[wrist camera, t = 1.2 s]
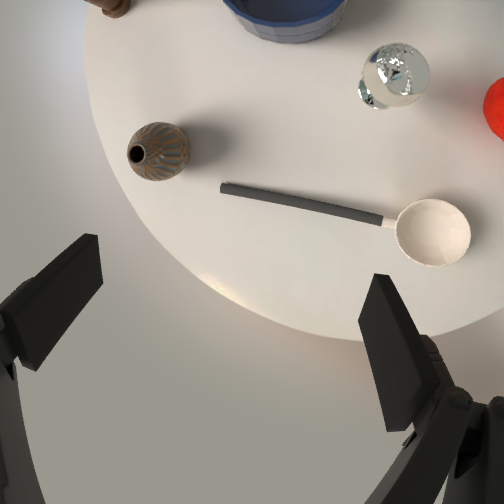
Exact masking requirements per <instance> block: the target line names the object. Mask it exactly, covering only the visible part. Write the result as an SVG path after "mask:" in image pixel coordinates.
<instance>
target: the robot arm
mask: <svg viewBox="0 0 504 504" xmlns="http://www.w3.org/2000/svg"><path fill="white" fill-rule="evenodd" d="M102 284H103V278H102V271H101V263H100V255H99V245H98V235H93V234H86V233H85V234H83V235H82V236H81V237H80V238H79V239H77V240H76V241H75V242H74V243H73V244H71V245H70V246H69V247H68V248H67V249H66V250H64V251H63V252H62V253H61V254H60V255H58V256H57V257H56V258H55V259H54V260H53V261H52V262H51V263H49V264H48V265H47V266H46V267H45V268H44V269H43V270H42V271H40V272H39V273H38V274H37V275H36V276H35V277H32V278H30V279H28V280H26V281H24V282H23V283H22V284H21V285H20V286H18V287H17V288H16V290H14V292H12V293H11V294H10V296H8V297H7V298H6V299H5V300H4V301H3V302H2V303H1V304H0V504H45V501H44V498H43V495H42V492H41V489H40V486H39V482H38V479H37V476H36V472H35V469H34V465H33V461H32V457H31V454H30V449H29V445H28V441H27V436H26V431H25V426H24V421H23V417H22V410H21V404H20V397H19V390H18V381H17V373H16V366H15V363H14V359H15V358H16V357H17V356H18V357H19V360H20V362H21V364H22V366H24V367H26V368H28V369H31V370H33V371H37V370H38V368H39V367H40V366H41V364H42V363H43V361H44V360H45V358H46V357H47V356H48V354H49V353H50V352H51V350H52V349H53V347H54V346H55V345H56V343H57V342H58V341H59V339H60V338H61V336H62V335H63V334H64V333H65V331H66V330H67V328H68V327H69V326H70V325H71V323H72V322H73V321H74V319H75V318H76V317H77V316H78V314H79V313H80V312H81V310H82V309H83V308H84V307H85V305H86V304H87V303H88V301H89V300H90V299H91V298H92V296H93V295H94V294H95V293H96V292H97V290H98V289H99V288H100V287H101V285H102ZM358 323H359V326H360V330H361V333H362V336H363V340H364V343H365V347H366V350H367V354H368V358H369V361H370V365H371V369H372V372H373V376H374V380H375V384H376V388H377V392H378V396H379V400H380V404H381V408H382V412H383V416H384V421H385V426H386V430H387V432H396V431H405V430H406V429H407V428H408V426H409V425H410V424H411V423H412V422H413V425H414V428H415V430H414V431H413V433H412V434H411V435H410V436H409V437H408V438H407V440H406V441H405V442H404V443H403V444H402V445H403V446H404V447H403V448H402V450H401V452H400V453H399V455H398V456H397V458H396V460H395V461H394V463H393V464H392V466H391V467H390V469H389V470H388V472H387V473H386V474H385V476H384V477H383V479H382V480H381V482H380V483H379V485H378V486H377V487H376V489H375V490H374V492H373V493H372V494H371V495H370V497H369V498H368V499H367V501H366V502H365V503H364V504H433V503H434V502H435V499H436V498H437V496H438V494H439V492H440V490H441V488H442V485H443V484H444V482H445V479H446V477H447V475H448V479H447V485H446V490H445V494H444V498H443V502H442V504H504V397H501V396H496V397H494V398H493V399H492V400H491V401H490V403H489V404H488V405H486V404H482V403H477V402H473V399H472V397H471V396H470V394H469V393H468V392H467V391H465V390H464V389H463V388H460V387H455V385H454V382H453V380H452V378H451V376H450V374H449V371H448V369H447V367H446V365H445V363H444V362H443V359H442V357H441V355H440V354H439V351H438V348H437V346H436V344H435V343H434V342H433V341H432V340H431V339H430V338H429V337H428V336H427V335H420V334H419V332H418V330H417V328H416V326H415V324H414V322H413V320H412V318H411V316H410V314H409V312H408V310H407V308H406V306H405V304H404V302H403V300H402V299H401V297H400V295H399V293H398V291H397V289H396V287H395V285H394V284H393V282H392V280H391V278H390V276H389V275H383V274H376V273H374V276H373V279H372V282H371V285H370V288H369V291H368V294H367V297H366V300H365V302H364V305H363V308H362V311H361V314H360V316H359V319H358ZM448 473H449V474H448Z"/></svg>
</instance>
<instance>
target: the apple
mask: <svg viewBox="0 0 504 504" xmlns="http://www.w3.org/2000/svg"><path fill="white" fill-rule="evenodd" d="M483 112H484V115H485V118H486V120H487V123H488V125H489V127H490V128H491V130H492V132H494V133H495V134H496V135H497V136H498V137H500V138H501V139H502V140H503V141H504V78H501V79H499V80H497V81H496V82H495V83H494V84H493V85H491V86H490V88H489V90H488V92H487V94H486V96H485V100H484V104H483Z"/></svg>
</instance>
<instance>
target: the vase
mask: <svg viewBox="0 0 504 504" xmlns="http://www.w3.org/2000/svg"><path fill="white" fill-rule="evenodd" d="M189 156H190V144H189V140H188V138H187V136H186V135H185V133H184V132H183V131H182V130H181V129H180V128H178V127H177V126H175V125H173V124H170V123H165V122H155V123H151V124H148V125H146V126H144V127H142V128H141V129H139V130H138V131H137V132H136V133H135V134H134V135H133V137H132V138H131V140H130V143H129V145H128V151H127V158H128V161H129V164H130V166H131V168H132V169H133V171H134V172H135V173H136V174H138V175H139V176H140V177H142V178H144V179H147V180H151V181H163V180H167V179H170V178H172V177H174V176H176V175H177V174H178V173H180V172H181V171H182V170H183V168H184V167H185V166H186V164H187V162H188V160H189Z"/></svg>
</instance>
